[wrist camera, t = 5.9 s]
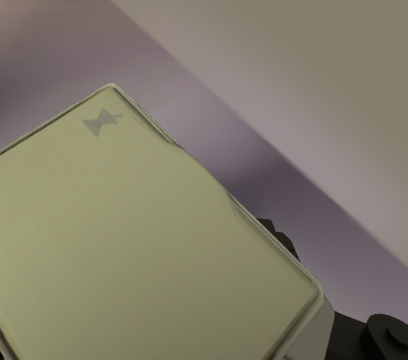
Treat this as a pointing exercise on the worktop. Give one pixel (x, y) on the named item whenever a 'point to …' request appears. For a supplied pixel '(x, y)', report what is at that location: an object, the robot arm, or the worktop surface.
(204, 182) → the skincare box
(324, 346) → the robot arm
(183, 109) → the worktop surface
